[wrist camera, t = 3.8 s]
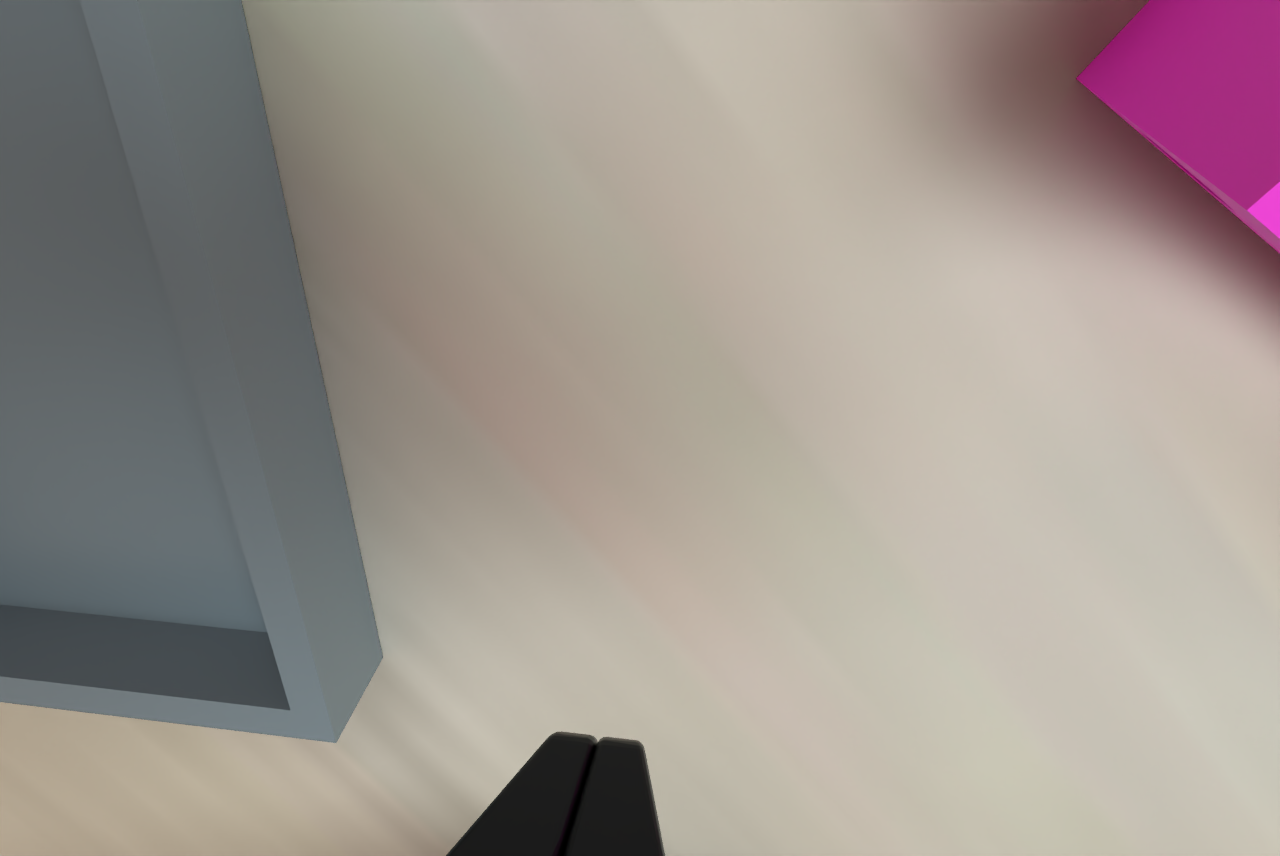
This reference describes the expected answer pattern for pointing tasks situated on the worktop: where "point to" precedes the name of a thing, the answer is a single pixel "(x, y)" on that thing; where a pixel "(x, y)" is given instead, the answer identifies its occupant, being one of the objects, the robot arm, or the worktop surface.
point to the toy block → (1204, 96)
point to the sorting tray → (162, 388)
